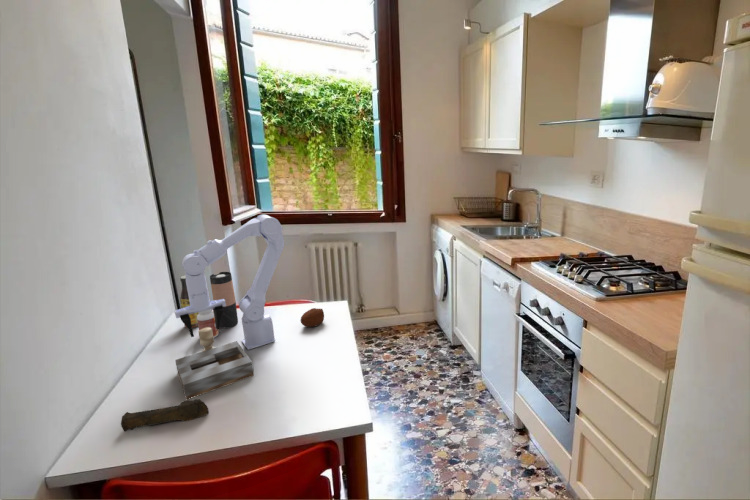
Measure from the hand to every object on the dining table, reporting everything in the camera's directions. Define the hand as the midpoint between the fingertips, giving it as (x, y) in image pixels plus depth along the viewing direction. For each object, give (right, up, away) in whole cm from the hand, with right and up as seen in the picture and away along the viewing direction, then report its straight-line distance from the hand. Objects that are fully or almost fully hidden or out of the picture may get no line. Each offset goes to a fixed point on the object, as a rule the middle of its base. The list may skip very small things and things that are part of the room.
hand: (205, 332), depth 121 cm
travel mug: (-2, -2, +25) cm, 25 cm away
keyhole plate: (+7, -11, -9) cm, 15 cm away
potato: (+31, -2, +20) cm, 37 cm away
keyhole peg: (+1, -8, +2) cm, 8 cm away
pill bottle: (-5, -5, +16) cm, 18 cm away
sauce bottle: (-16, -3, +26) cm, 30 cm away
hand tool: (+3, -16, -27) cm, 32 cm away
